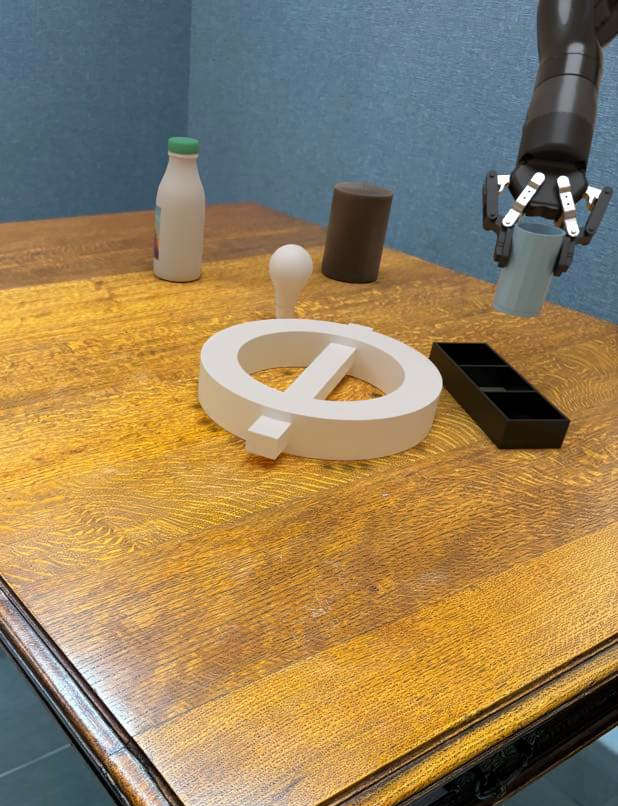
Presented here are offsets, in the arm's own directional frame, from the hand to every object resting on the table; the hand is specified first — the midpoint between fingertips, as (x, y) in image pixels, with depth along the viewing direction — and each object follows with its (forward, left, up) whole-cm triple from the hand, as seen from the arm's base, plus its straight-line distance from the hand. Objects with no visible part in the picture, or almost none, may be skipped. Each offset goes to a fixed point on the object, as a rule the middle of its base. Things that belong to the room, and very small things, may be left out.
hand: (530, 268), depth 89 cm
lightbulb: (+19, -27, -17) cm, 38 cm away
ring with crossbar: (+21, -2, -17) cm, 28 cm away
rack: (-1, -1, -17) cm, 17 cm away
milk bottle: (+32, -47, -17) cm, 60 cm away
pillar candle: (+2, -50, -17) cm, 53 cm away
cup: (-1, -2, -5) cm, 6 cm away
